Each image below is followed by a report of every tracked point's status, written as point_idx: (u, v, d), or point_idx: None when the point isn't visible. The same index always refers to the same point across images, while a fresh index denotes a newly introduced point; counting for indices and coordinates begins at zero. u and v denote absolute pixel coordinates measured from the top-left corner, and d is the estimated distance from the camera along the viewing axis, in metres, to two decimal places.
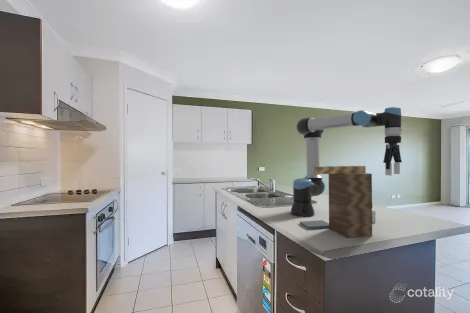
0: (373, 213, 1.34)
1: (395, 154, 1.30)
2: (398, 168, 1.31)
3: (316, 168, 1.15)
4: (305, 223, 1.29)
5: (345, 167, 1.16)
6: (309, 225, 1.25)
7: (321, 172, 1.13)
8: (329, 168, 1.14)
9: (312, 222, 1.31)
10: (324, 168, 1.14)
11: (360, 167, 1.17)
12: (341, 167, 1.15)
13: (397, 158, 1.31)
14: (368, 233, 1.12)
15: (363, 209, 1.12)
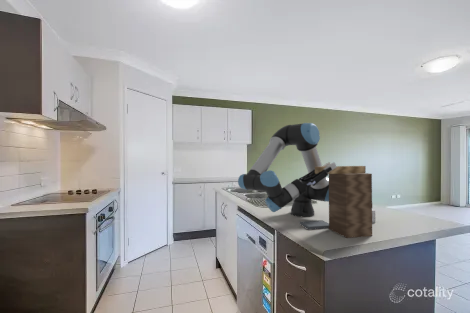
0: (373, 213, 1.34)
1: None
2: None
3: (316, 168, 1.15)
4: (305, 223, 1.29)
5: (345, 167, 1.16)
6: (309, 225, 1.25)
7: None
8: None
9: (312, 222, 1.31)
10: None
11: (360, 167, 1.17)
12: (341, 167, 1.15)
13: None
14: (368, 233, 1.12)
15: (363, 209, 1.12)
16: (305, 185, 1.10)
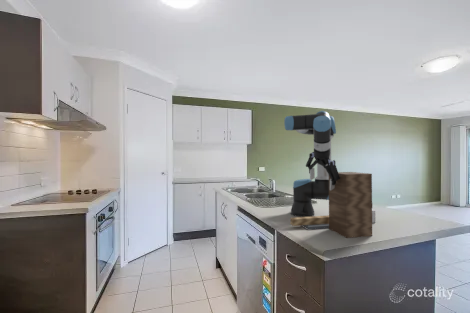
0: (373, 213, 1.34)
1: None
2: None
3: (291, 220, 1.26)
4: None
5: (318, 218, 1.27)
6: (309, 225, 1.25)
7: (295, 224, 1.25)
8: (303, 220, 1.26)
9: None
10: (298, 220, 1.25)
11: None
12: (314, 218, 1.27)
13: None
14: (368, 233, 1.12)
15: (363, 209, 1.12)
16: None
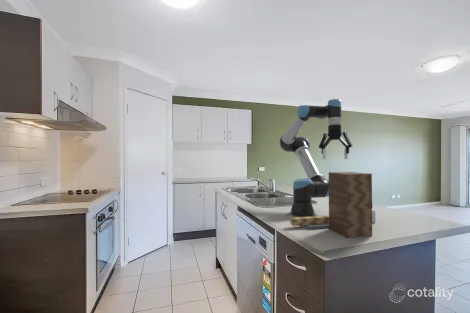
0: (373, 213, 1.34)
1: None
2: None
3: (291, 220, 1.26)
4: None
5: (318, 218, 1.27)
6: (309, 225, 1.25)
7: (295, 224, 1.25)
8: (303, 220, 1.26)
9: None
10: (298, 220, 1.25)
11: None
12: (314, 218, 1.27)
13: None
14: (368, 233, 1.12)
15: (363, 209, 1.12)
16: None
